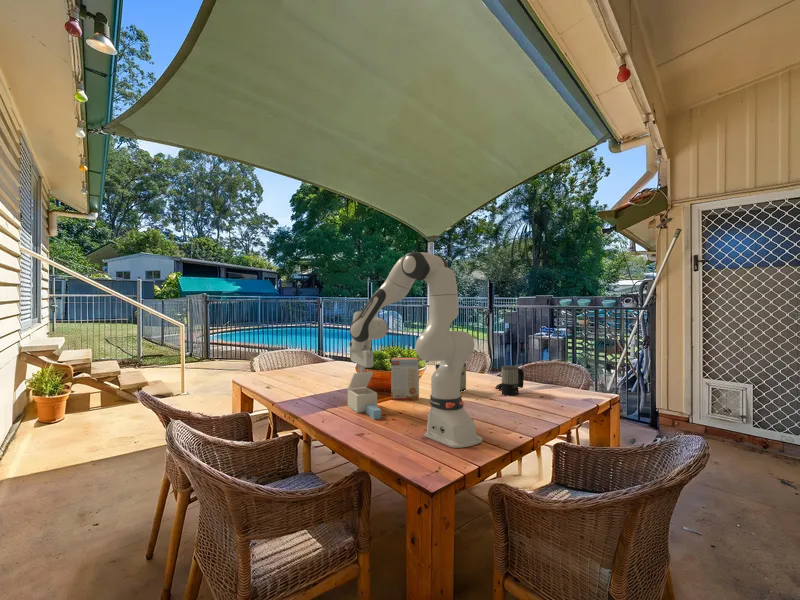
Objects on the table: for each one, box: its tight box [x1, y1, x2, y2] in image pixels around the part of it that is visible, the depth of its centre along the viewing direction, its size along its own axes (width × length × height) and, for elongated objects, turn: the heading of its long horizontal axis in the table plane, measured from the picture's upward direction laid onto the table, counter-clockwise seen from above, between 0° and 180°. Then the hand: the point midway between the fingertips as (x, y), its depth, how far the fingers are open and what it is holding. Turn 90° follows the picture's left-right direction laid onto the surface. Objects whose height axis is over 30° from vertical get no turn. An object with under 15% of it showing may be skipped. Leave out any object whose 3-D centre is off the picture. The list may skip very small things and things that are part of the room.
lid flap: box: [347, 371, 374, 390], centre depth 180 cm, size 12×10×1 cm
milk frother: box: [495, 364, 525, 397], centre depth 207 cm, size 14×16×15 cm
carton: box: [347, 387, 378, 414], centre depth 178 cm, size 12×10×8 cm
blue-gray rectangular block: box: [365, 404, 382, 420], centre depth 167 cm, size 10×4×4 cm, turn 25°
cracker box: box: [390, 357, 420, 401], centre depth 195 cm, size 14×6×21 cm, turn 84°
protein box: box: [435, 362, 467, 393], centre depth 208 cm, size 10×16×16 cm
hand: (361, 373), depth 178 cm, fingers closed
